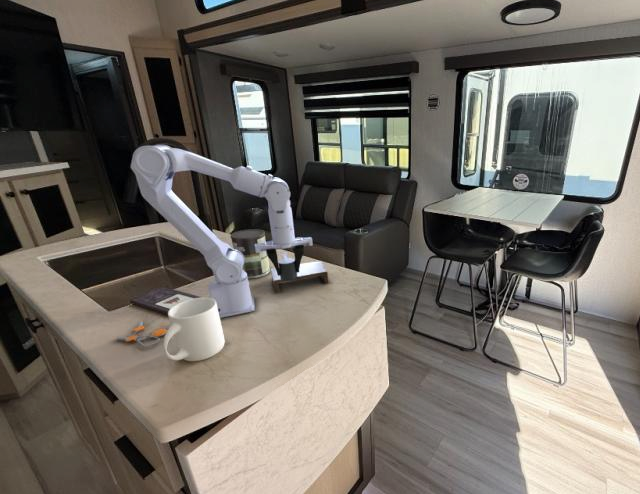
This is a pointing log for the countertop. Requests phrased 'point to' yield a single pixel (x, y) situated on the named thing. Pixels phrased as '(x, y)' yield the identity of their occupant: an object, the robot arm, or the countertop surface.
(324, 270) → the shelf
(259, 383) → the countertop surface
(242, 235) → the coffee can
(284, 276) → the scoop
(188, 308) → the mug
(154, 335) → the key chain
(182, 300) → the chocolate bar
